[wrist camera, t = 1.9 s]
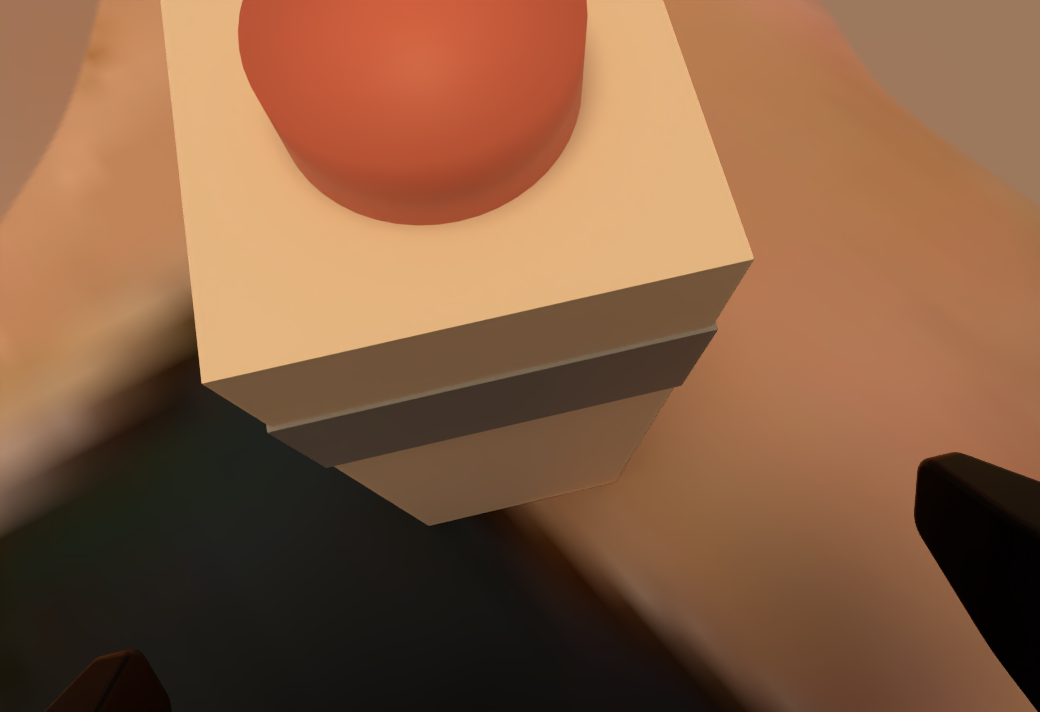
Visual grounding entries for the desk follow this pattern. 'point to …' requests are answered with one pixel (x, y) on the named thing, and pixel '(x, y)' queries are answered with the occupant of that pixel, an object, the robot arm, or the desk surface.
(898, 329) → the desk surface
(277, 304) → the tapered square pillar
